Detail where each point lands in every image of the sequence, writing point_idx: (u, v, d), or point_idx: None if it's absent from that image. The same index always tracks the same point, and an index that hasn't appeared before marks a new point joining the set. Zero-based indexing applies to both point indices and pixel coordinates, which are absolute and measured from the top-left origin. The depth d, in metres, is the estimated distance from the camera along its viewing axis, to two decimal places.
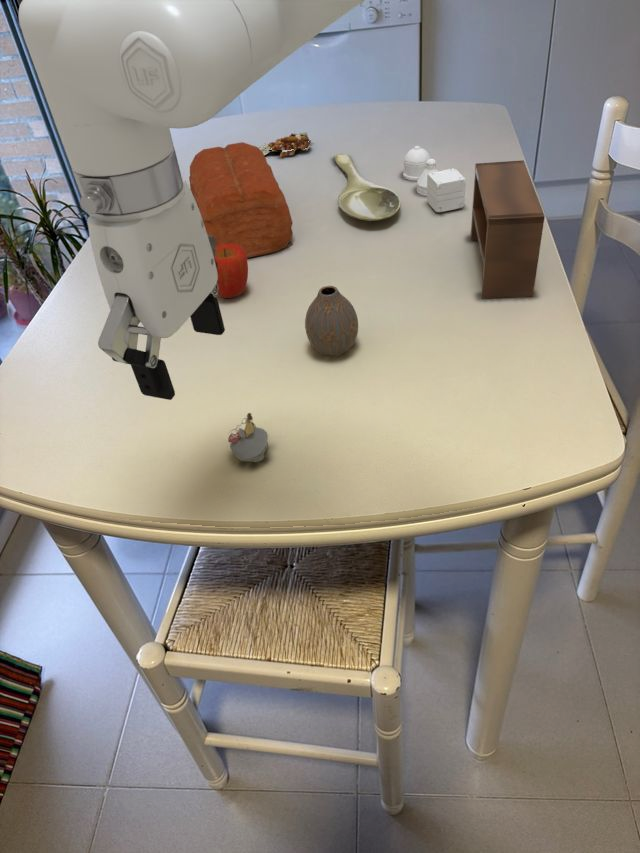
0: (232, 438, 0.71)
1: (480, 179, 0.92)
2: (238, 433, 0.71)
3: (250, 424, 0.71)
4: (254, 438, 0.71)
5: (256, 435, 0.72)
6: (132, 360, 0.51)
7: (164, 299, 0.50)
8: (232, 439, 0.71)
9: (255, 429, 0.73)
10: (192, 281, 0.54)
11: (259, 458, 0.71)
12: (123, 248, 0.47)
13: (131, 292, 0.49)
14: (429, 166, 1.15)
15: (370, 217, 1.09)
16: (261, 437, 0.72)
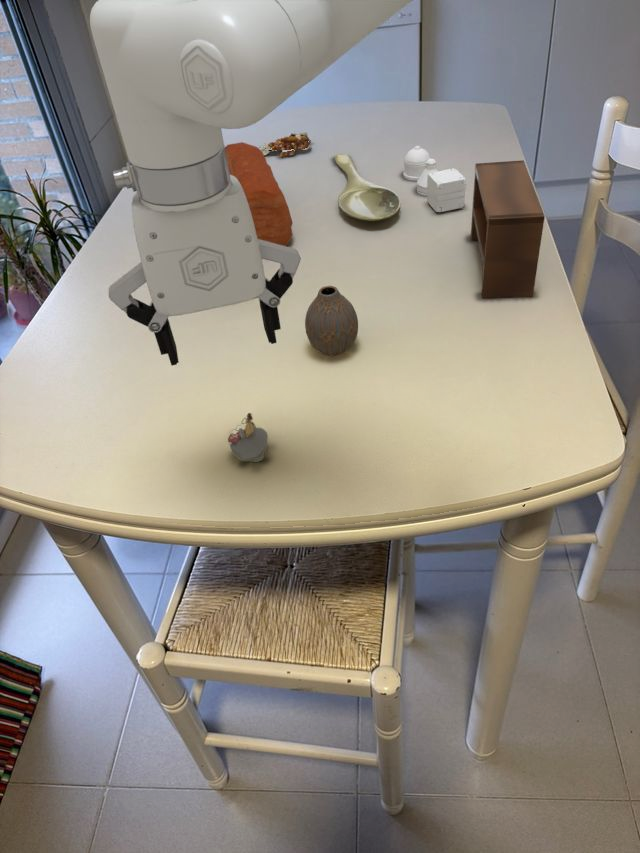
0: (232, 438, 0.71)
1: (480, 179, 0.92)
2: (238, 433, 0.71)
3: (250, 424, 0.71)
4: (254, 438, 0.71)
5: (256, 435, 0.72)
6: (131, 316, 0.58)
7: (163, 283, 0.55)
8: (232, 439, 0.71)
9: (255, 429, 0.73)
10: (212, 282, 0.56)
11: (259, 458, 0.71)
12: (134, 226, 0.52)
13: None
14: (429, 166, 1.15)
15: (370, 217, 1.09)
16: (261, 437, 0.72)
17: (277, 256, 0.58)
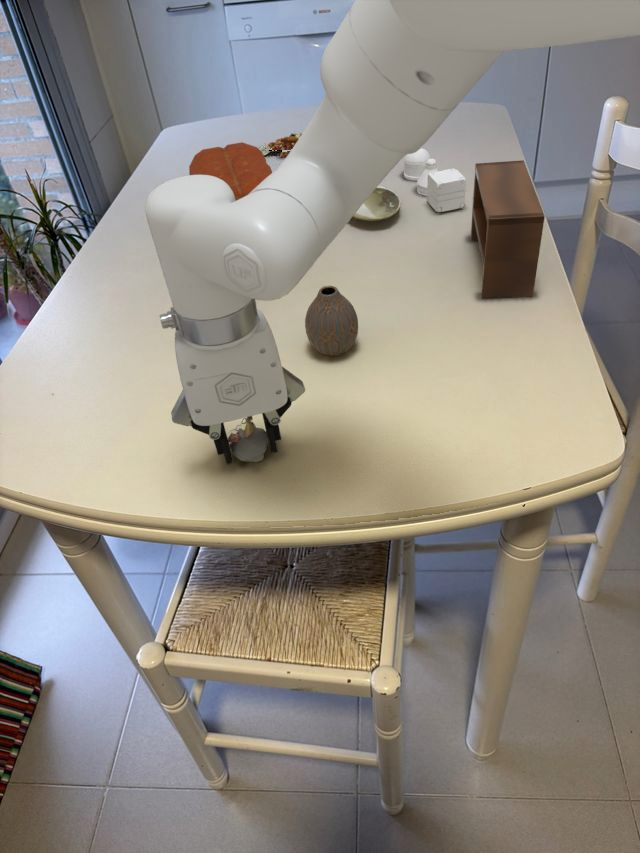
0: (232, 438, 0.71)
1: (480, 179, 0.92)
2: (238, 433, 0.71)
3: (250, 424, 0.71)
4: (254, 438, 0.71)
5: (256, 435, 0.72)
6: (195, 427, 0.68)
7: (200, 402, 0.64)
8: (232, 439, 0.71)
9: (255, 429, 0.73)
10: (242, 399, 0.65)
11: (259, 458, 0.71)
12: (177, 358, 0.61)
13: None
14: (429, 166, 1.15)
15: (370, 217, 1.09)
16: (261, 437, 0.72)
17: (289, 383, 0.68)
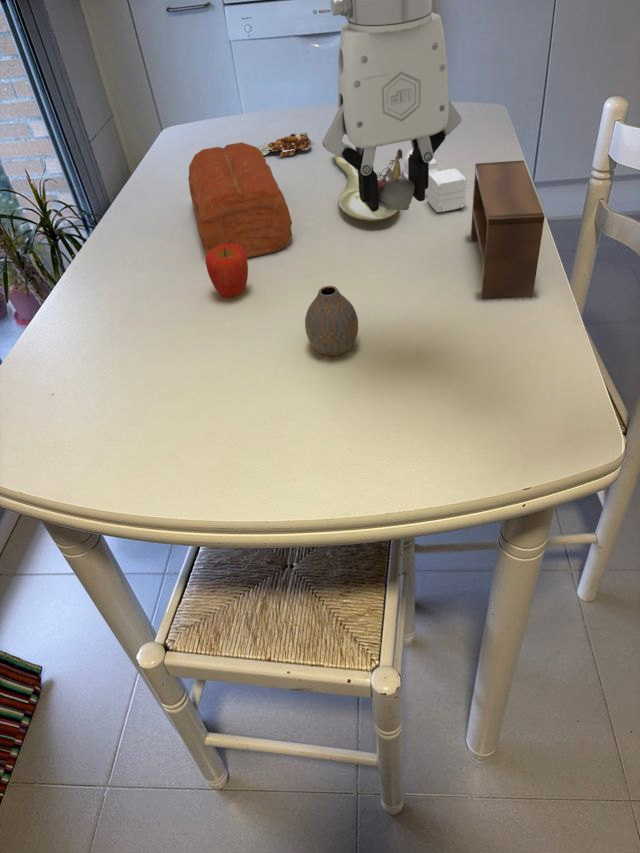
0: (379, 182, 0.68)
1: (480, 179, 0.92)
2: (386, 174, 0.67)
3: (399, 164, 0.67)
4: (401, 182, 0.68)
5: (402, 181, 0.68)
6: (347, 158, 0.65)
7: (363, 111, 0.60)
8: (379, 183, 0.68)
9: (399, 178, 0.69)
10: (405, 112, 0.61)
11: (408, 202, 0.68)
12: (345, 52, 0.58)
13: (343, 94, 0.60)
14: (430, 166, 1.15)
15: (370, 217, 1.09)
16: (408, 182, 0.68)
17: None
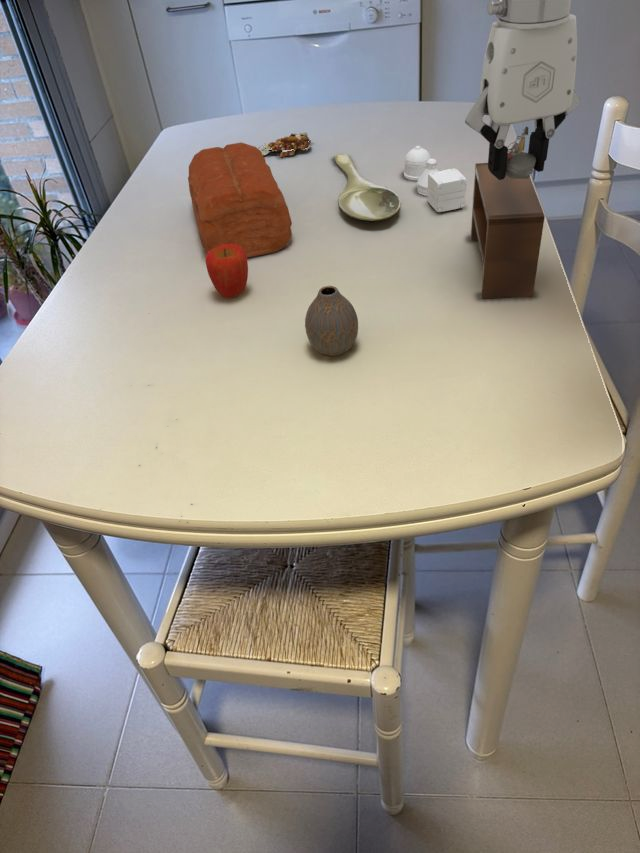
0: None
1: (480, 179, 0.92)
2: (513, 148, 0.80)
3: (524, 140, 0.80)
4: (525, 155, 0.81)
5: (525, 153, 0.81)
6: (485, 133, 0.78)
7: (507, 94, 0.73)
8: None
9: (521, 152, 0.82)
10: (539, 95, 0.74)
11: (530, 171, 0.81)
12: (497, 45, 0.71)
13: (490, 80, 0.73)
14: (430, 166, 1.15)
15: (370, 217, 1.09)
16: (530, 155, 0.81)
17: None
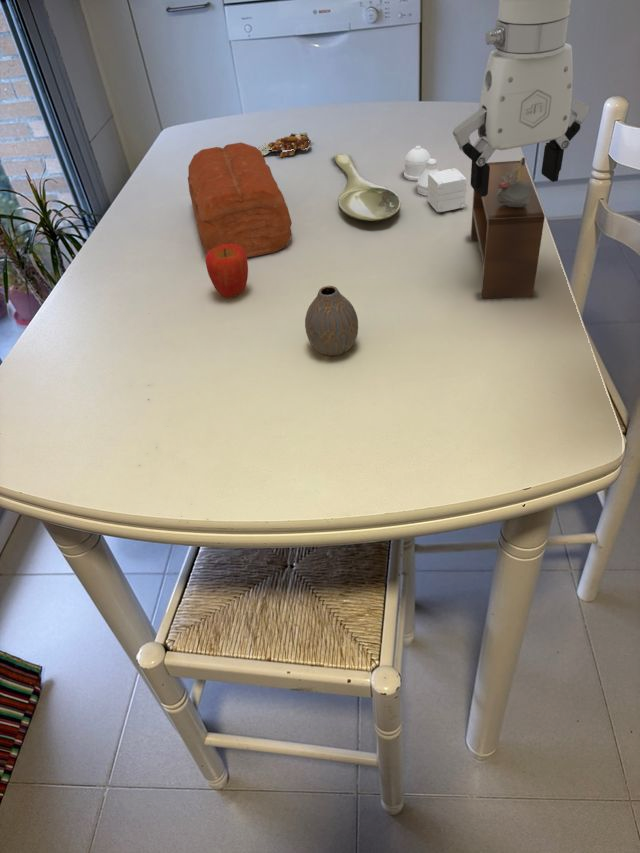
0: (503, 184, 0.83)
1: None
2: (510, 178, 0.83)
3: (521, 170, 0.83)
4: (522, 184, 0.83)
5: (522, 183, 0.84)
6: (467, 151, 0.79)
7: (504, 120, 0.75)
8: (503, 185, 0.83)
9: (518, 181, 0.85)
10: (536, 121, 0.76)
11: (527, 200, 0.83)
12: (494, 74, 0.73)
13: (488, 106, 0.75)
14: (430, 166, 1.15)
15: (370, 217, 1.09)
16: (527, 184, 0.84)
17: (575, 106, 0.78)
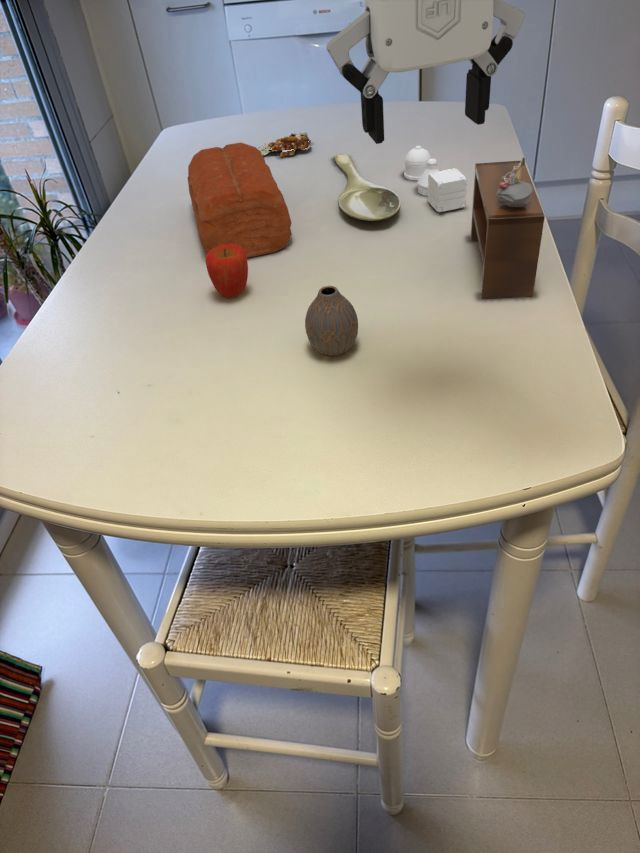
0: (503, 184, 0.83)
1: (480, 179, 0.92)
2: (510, 178, 0.83)
3: (521, 170, 0.83)
4: (522, 184, 0.83)
5: (522, 183, 0.84)
6: (347, 76, 0.55)
7: (394, 26, 0.52)
8: (503, 185, 0.83)
9: (518, 181, 0.85)
10: (442, 29, 0.53)
11: (527, 200, 0.83)
12: None
13: (371, 6, 0.52)
14: (430, 166, 1.15)
15: (370, 217, 1.09)
16: (527, 184, 0.84)
17: (502, 11, 0.55)
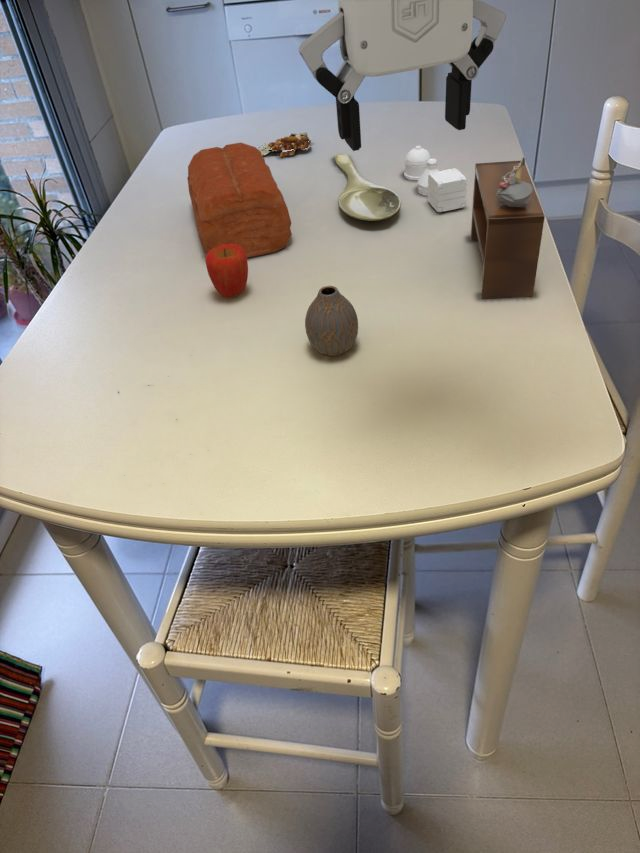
0: (503, 184, 0.83)
1: (480, 179, 0.92)
2: (510, 178, 0.83)
3: (521, 170, 0.83)
4: (522, 184, 0.83)
5: (522, 183, 0.84)
6: (321, 80, 0.53)
7: (369, 28, 0.49)
8: (503, 185, 0.83)
9: (518, 181, 0.85)
10: (420, 31, 0.50)
11: (527, 200, 0.83)
12: None
13: (344, 7, 0.49)
14: (430, 166, 1.15)
15: (370, 217, 1.09)
16: (527, 184, 0.84)
17: (482, 12, 0.52)
